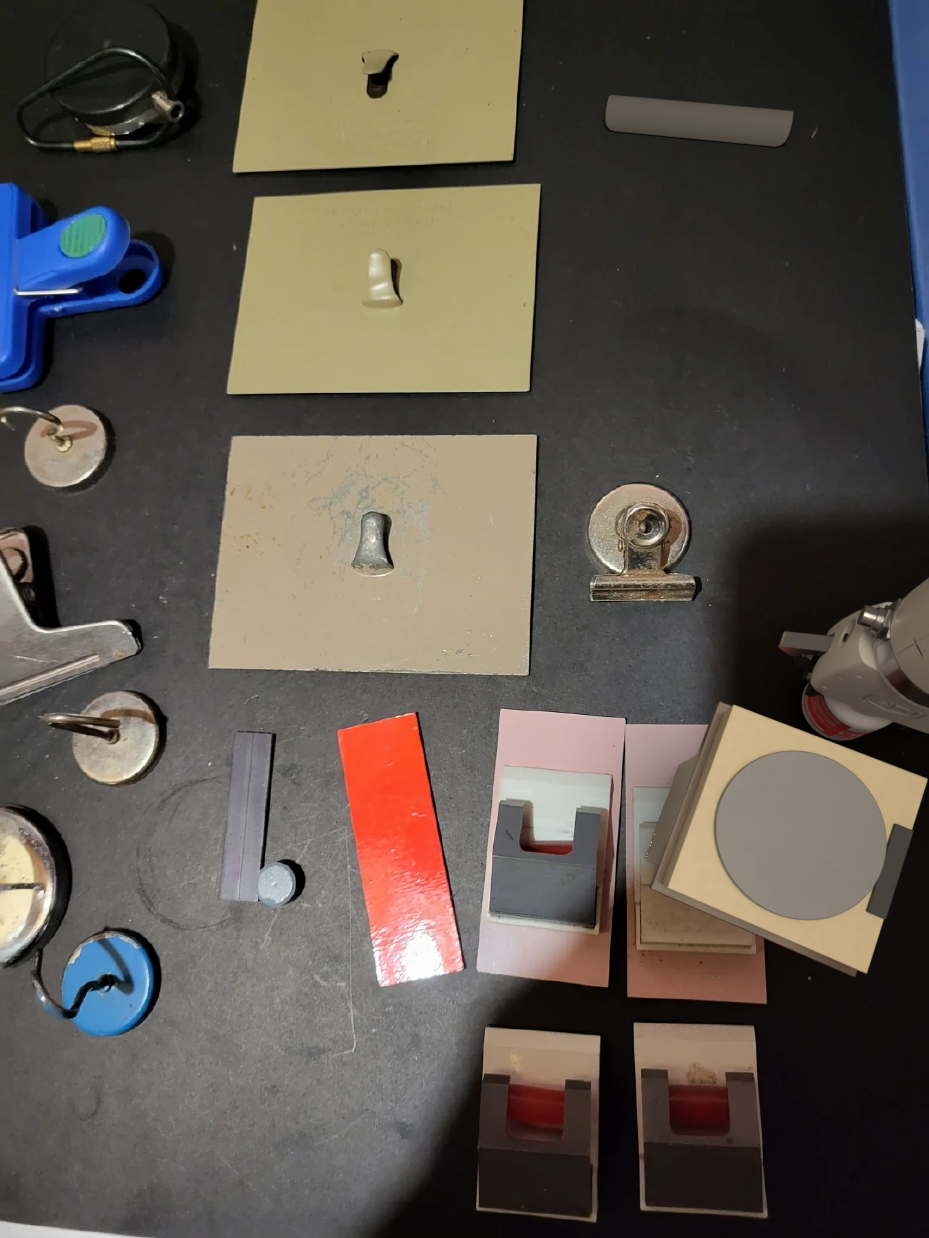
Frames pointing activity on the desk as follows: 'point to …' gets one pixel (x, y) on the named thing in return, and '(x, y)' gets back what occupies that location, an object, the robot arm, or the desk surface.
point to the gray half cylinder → (698, 120)
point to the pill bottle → (839, 718)
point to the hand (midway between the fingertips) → (858, 694)
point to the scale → (797, 836)
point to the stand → (671, 830)
